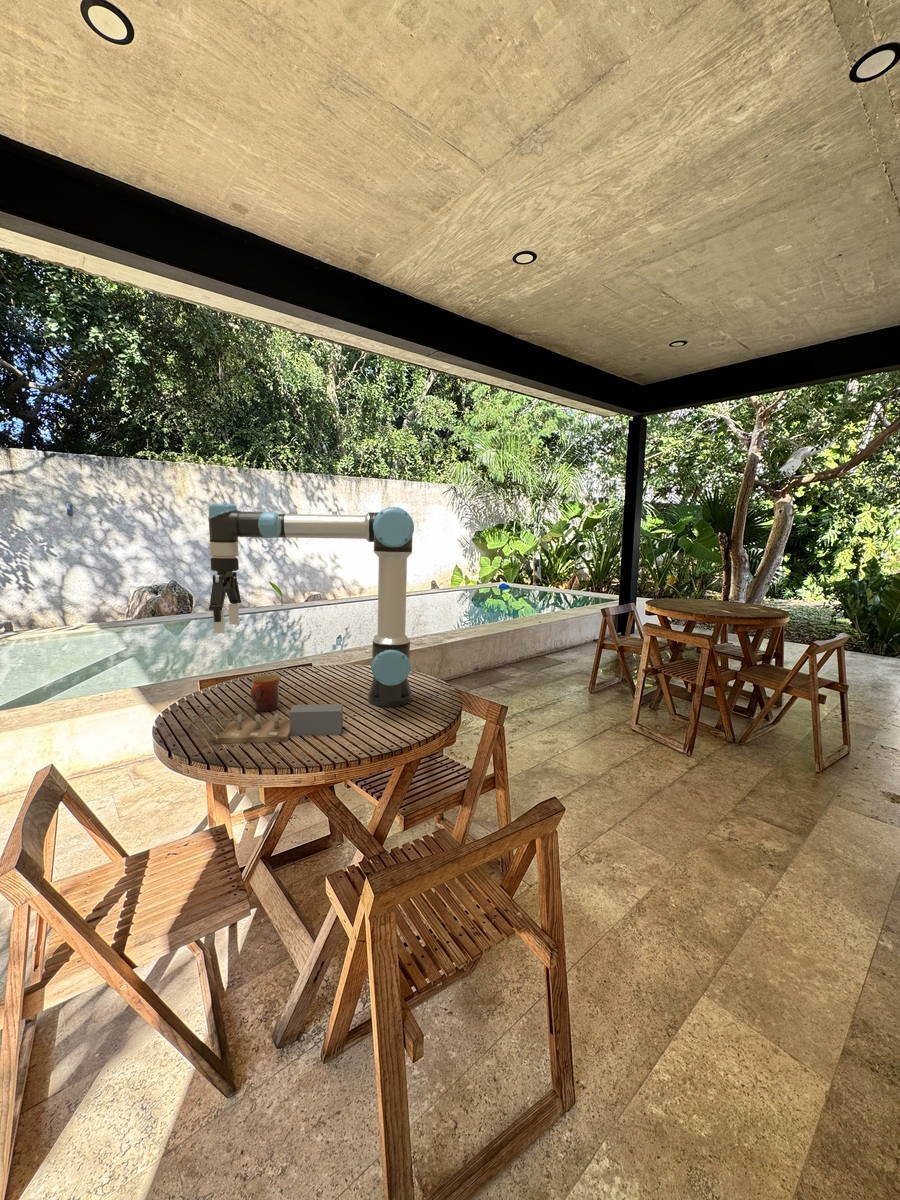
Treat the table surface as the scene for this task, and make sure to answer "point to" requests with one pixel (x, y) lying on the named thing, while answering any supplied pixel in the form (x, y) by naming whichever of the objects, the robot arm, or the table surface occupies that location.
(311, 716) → the block
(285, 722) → the board
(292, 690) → the table surface
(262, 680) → the mug
